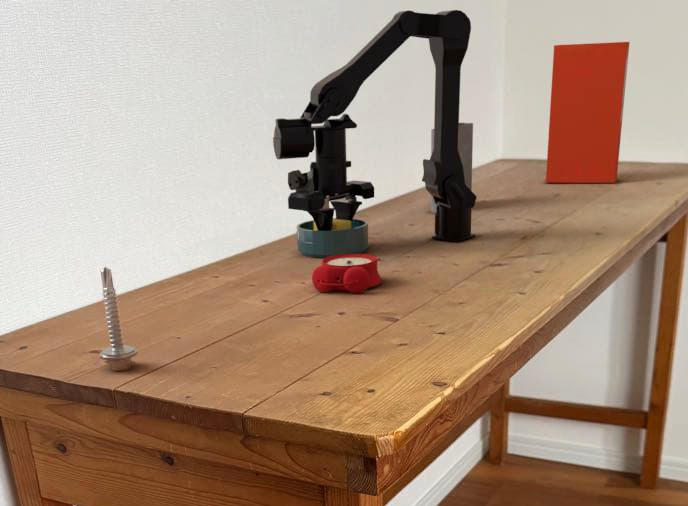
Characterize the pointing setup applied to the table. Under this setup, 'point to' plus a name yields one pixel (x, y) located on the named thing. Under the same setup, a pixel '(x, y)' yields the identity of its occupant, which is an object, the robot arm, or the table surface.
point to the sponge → (338, 225)
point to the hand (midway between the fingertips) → (333, 242)
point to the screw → (114, 328)
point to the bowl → (332, 240)
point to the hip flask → (465, 154)
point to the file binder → (586, 112)
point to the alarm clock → (347, 273)
